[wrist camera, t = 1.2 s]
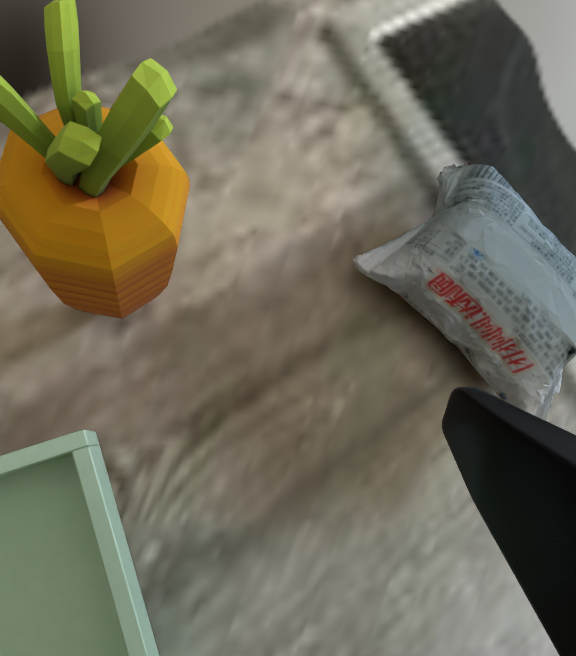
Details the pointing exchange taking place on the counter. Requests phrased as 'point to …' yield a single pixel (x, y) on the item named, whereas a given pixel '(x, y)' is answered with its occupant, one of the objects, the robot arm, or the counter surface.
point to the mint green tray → (66, 556)
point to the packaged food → (489, 284)
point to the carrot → (93, 181)
